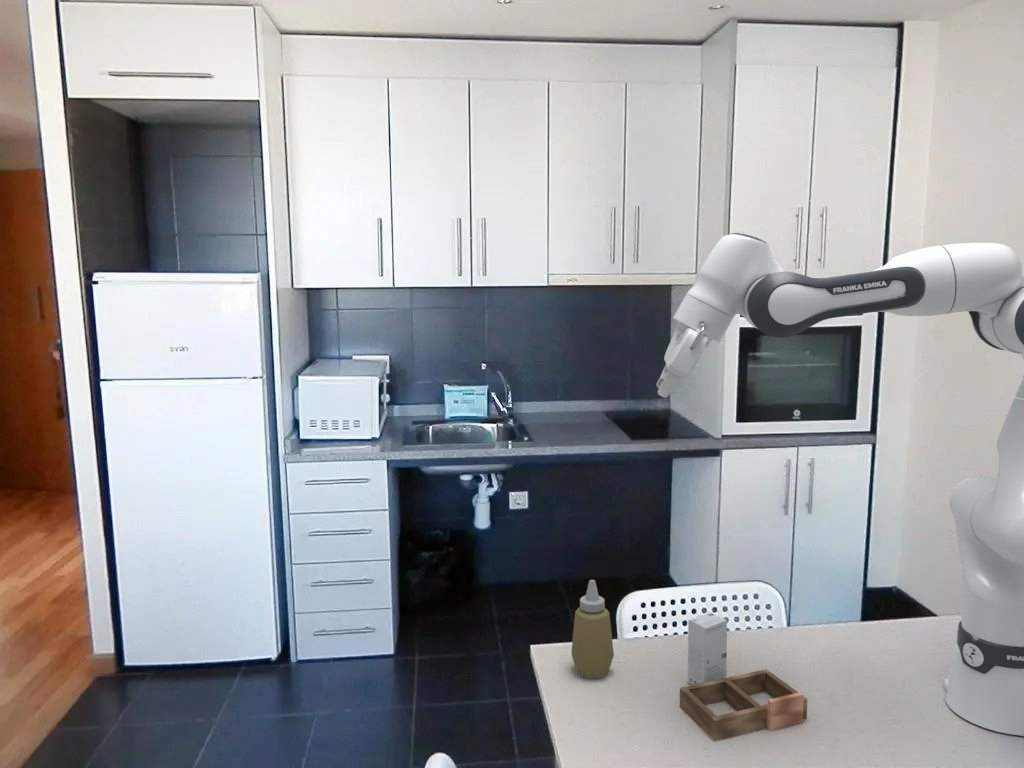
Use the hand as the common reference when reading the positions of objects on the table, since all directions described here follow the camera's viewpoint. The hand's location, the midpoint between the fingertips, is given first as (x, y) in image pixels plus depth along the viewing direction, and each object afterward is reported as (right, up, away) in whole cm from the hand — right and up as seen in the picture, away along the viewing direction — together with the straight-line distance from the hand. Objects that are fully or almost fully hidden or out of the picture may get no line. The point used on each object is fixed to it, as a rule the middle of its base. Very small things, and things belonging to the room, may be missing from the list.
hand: (660, 392), depth 127 cm
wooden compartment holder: (+14, -55, -2) cm, 56 cm away
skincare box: (+10, -54, +8) cm, 55 cm away
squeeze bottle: (-10, -54, +12) cm, 56 cm away
